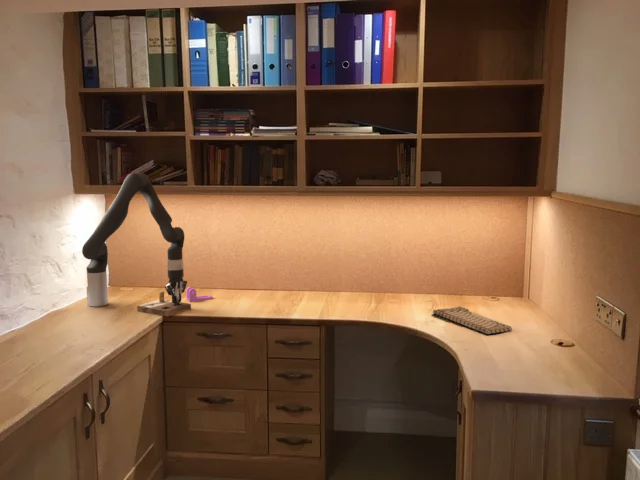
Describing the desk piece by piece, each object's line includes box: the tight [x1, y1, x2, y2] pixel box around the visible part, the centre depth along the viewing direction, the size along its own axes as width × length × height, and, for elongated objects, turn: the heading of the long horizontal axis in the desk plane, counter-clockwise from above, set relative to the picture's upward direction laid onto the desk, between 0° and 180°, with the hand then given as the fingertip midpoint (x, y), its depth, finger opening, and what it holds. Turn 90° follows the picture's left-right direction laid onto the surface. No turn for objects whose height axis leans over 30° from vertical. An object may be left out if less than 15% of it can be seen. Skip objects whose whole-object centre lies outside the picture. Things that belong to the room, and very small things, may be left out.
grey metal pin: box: [174, 288, 180, 306], centre depth 264 cm, size 2×2×9 cm
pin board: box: [136, 291, 192, 317], centre depth 264 cm, size 20×16×8 cm
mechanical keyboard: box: [431, 305, 513, 337], centre depth 244 cm, size 38×19×3 cm, turn 28°
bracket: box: [185, 286, 213, 303], centre depth 285 cm, size 13×6×7 cm, turn 120°
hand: (176, 302), depth 264 cm, fingers closed on grey metal pin, 2 cm apart
